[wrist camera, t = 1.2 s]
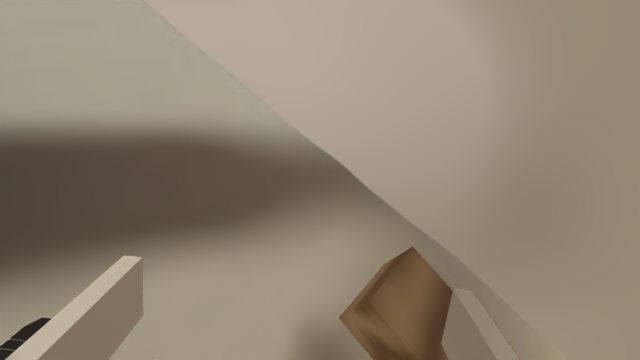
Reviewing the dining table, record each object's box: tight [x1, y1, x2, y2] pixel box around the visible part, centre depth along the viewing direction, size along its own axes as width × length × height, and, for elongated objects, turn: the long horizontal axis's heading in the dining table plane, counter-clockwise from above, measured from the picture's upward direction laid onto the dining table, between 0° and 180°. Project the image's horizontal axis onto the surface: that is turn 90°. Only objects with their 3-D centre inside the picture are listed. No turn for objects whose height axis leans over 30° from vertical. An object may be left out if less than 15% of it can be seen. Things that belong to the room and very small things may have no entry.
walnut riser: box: [339, 247, 453, 360], centre depth 37 cm, size 12×9×5 cm
